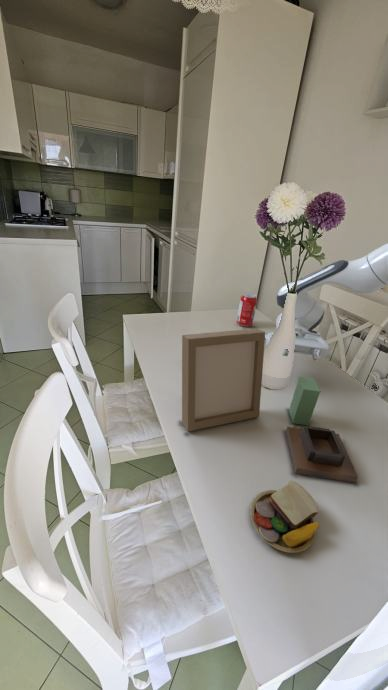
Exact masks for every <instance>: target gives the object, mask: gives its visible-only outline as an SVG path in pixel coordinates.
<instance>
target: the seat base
mask: <svg viewBox="0 0 388 690" xmlns="http://www.w3.org/2000/svg"><path fill="white" fill-rule="evenodd" d="M285 436H286V441H287V446H288V450H289V453H290V454H289V455H290V457H291V461H292V466H293V470H294V474H297V475H303V476H308V477H316V478H321V479H329V480H335V481H341V482H348V483H354V484H355V483H357V480H358V479H359V475H358V473H357V471H356V469H355V467H354V464H353V462H352V459H351V458H350V455H349V453H348V450H347V448H346V446H345V444H344V442H343V440H342V438H341V436H340V434H339V433H337V432H335V430H332V429H330V428H326V427H318V426H313V425H303V426H302V427H296V426H295V427H294V426H288V425H287V426H286V428H285Z"/></svg>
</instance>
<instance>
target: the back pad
mask: <svg viewBox="0 0 388 690" xmlns="http://www.w3.org/2000/svg"><path fill="white" fill-rule="evenodd" d="M320 393H321V389H320V388H319V385H318V384H317V381H316V379H315V378H308V377H301V376H299V377H298V379H297V382H296V385H295V389H294V392H293V395H292V399H291V402H290V405H289V408H288V412H289V415H290V419H291V422H292V424H294V425H295V424H296V425H303V426H310V423H311V418H312V416H313V414H314V410H315V408H316V406H317V402H318V399H319V397H320Z"/></svg>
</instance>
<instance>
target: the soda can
mask: <svg viewBox="0 0 388 690" xmlns="http://www.w3.org/2000/svg"><path fill="white" fill-rule="evenodd" d="M257 304H258V297H257V295H256V294H255V293H251V292H244V293H243V294H242V295H241V296H240V300H239V306H238V311H237V316H236V323H237V324H238V325H239V326H241V327H243V328H244V327H245V328H246V327H252V325H253V323H254V319H255V314H256V309H257Z"/></svg>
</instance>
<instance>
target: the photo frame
mask: <svg viewBox="0 0 388 690" xmlns="http://www.w3.org/2000/svg"><path fill="white" fill-rule="evenodd" d="M265 334H266V331H263V330H260V329H257V328H252V329H250V328H249V329H239V330H226V331H213V332H201V333H192V334H191V333H190V334H182V335H181V354H182V355H181V377H182V378H181V397H182V398H181V424H182V426H183V427H184V428H185V430H186V431H187V432H191V431H196V430H197V431H198V430H201V429H202V430H203V429H205V428H206V429H207V428H211V427H216V426H221V425H225V424H231V423H235V422H240V421H245V420H250V419H255V418H259V417H260V410H261V396H262V385H263V384H262V383H263V370H264V356H265V355H264V354H265V345H266V339H265Z"/></svg>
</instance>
